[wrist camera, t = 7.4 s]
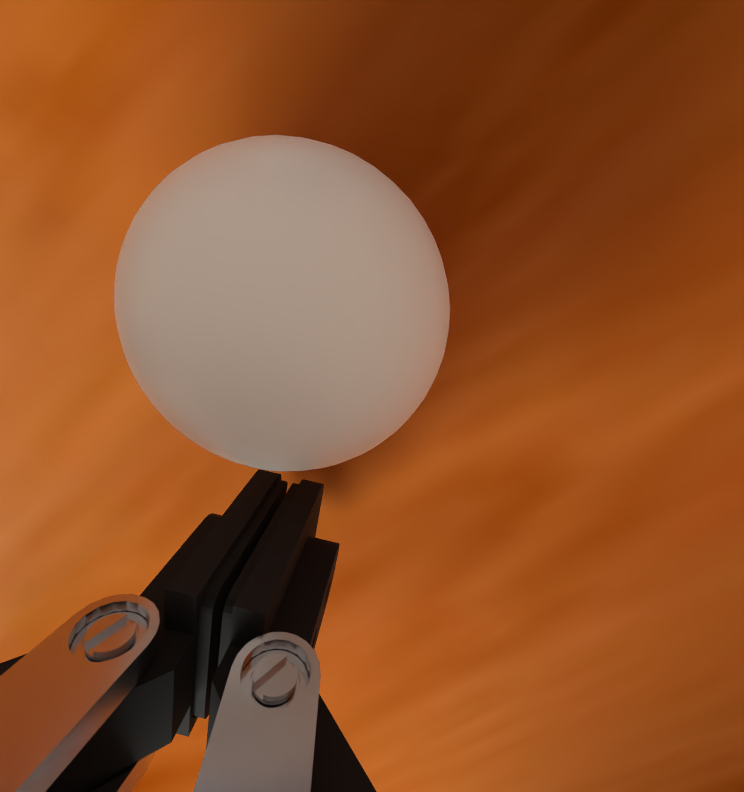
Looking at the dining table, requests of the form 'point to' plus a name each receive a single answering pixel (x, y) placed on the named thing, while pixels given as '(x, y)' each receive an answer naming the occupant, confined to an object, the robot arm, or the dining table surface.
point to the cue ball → (281, 303)
